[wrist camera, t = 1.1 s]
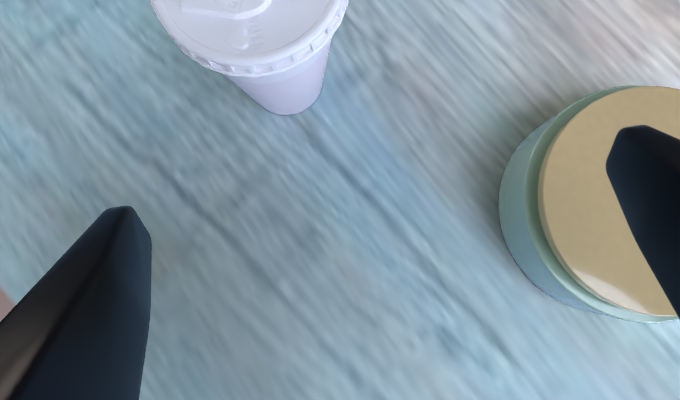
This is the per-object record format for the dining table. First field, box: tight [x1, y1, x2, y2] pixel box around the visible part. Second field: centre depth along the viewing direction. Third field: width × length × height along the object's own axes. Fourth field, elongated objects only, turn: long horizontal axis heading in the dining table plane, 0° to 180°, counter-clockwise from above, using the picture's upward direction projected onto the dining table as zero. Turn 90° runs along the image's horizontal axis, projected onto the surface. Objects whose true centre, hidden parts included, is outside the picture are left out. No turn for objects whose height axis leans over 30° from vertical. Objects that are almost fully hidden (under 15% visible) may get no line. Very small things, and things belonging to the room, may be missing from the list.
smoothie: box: [150, 0, 349, 115], centre depth 17 cm, size 6×6×14 cm
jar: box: [499, 86, 680, 323], centre depth 21 cm, size 10×10×4 cm
